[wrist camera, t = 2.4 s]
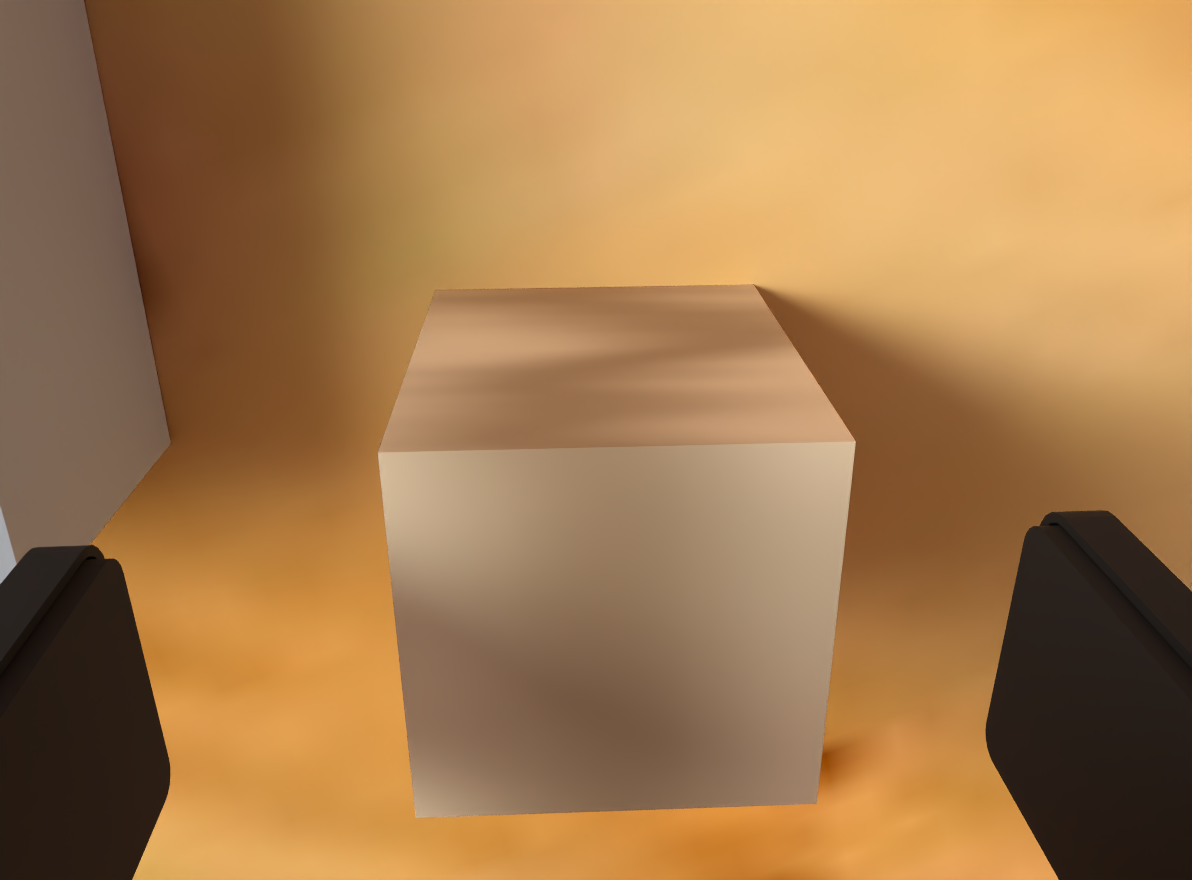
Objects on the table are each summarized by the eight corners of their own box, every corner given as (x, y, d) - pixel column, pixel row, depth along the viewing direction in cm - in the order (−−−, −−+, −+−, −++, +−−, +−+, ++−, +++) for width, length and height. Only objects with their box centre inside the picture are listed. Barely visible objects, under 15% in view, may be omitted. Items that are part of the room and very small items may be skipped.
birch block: (753, 283, 16) (855, 440, 11) (737, 556, 18) (816, 803, 13) (435, 289, 16) (377, 452, 11) (456, 563, 18) (415, 818, 13)
